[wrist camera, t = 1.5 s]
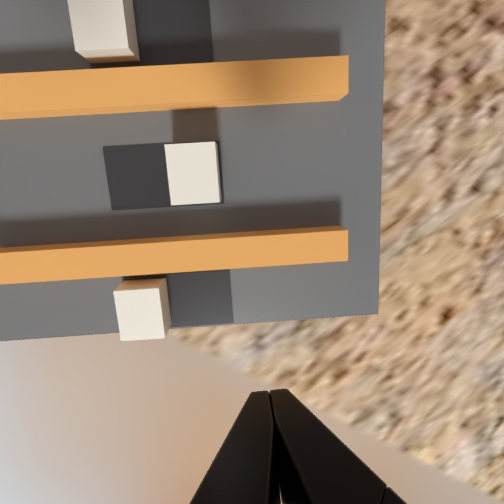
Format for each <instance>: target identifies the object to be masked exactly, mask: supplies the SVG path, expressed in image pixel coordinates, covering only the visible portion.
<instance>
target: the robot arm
mask: <svg viewBox="0 0 504 504" xmlns="http://www.w3.org/2000/svg"><path fill="white" fill-rule="evenodd" d="M280 494H281V499H280ZM281 500H282V504H407V503H406V502H405V501H403V500H402V499H401V498H400V497H399V496H398V495H397V494H396V493H395V492H394V491H393V490H392V489H391V488H390V487H387V485H386V484H385V483H384V482H383V481H382V480H381V479H380V478H379V477H378V476H377V475H376V474H375V473H374V472H373V471H372V470H371V469H370V468H369V467H368V466H367V465H366V464H365V463H364V462H363V461H362V460H361V459H359V458H358V457H357V456H356V455H355V454H354V453H353V452H352V451H351V450H350V449H349V448H348V447H347V446H346V445H345V444H344V443H343V442H341V440H340V439H339V438H338V437H337V436H336V435H335V434H334V433H332V432H331V431H330V430H329V429H328V428H327V427H326V426H325V425H324V424H323V423H322V422H321V421H320V420H319V419H318V418H317V417H316V416H315V415H313V413H312V412H311V411H310V410H309V409H307V408H306V407H305V406H304V405H303V404H302V403H301V402H300V401H299V400H298V399H297V398H296V397H295V396H294V395H293V394H292V393H291V392H290V391H289V390H288V389H276V390H271V391H270V392H268V391H257V392H252V393H251V394H250V395H249V397H248V399H247V401H246V402H245V404H244V406H243V408H242V410H241V411H240V413H239V415H238V417H237V419H236V420H235V422H234V424H233V426H232V428H231V430H230V431H229V433H228V435H227V437H226V439H225V440H224V442H223V444H222V446H221V448H220V450H219V451H218V453H217V455H216V457H215V459H214V460H213V462H212V464H211V466H210V468H209V470H208V471H207V473H206V475H205V477H204V478H203V481H202V482H201V484H200V486H199V488H198V489H197V491H196V493H195V495H194V497H193V498H192V500H191V502H190V504H281Z"/></svg>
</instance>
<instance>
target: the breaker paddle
mask: <svg viewBox="0 0 504 504" xmlns="http://www.w3.org/2000/svg"><path fill="white" fill-rule="evenodd" d="M164 147H165V155H166V164H167V173H168V182H169V191H170V200H171V205H186V204H202V203H218V202H220V201H221V200H222V198H221V185H220V172H219V160H218V147H217V144H216V142H198V143H181V144H164Z"/></svg>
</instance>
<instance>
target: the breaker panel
mask: <svg viewBox="0 0 504 504" xmlns="http://www.w3.org/2000/svg"><path fill="white" fill-rule="evenodd" d="M384 38H385V0H0V74H6V73H25V72H43V71H62V70H81V69H100V68H119V67H137V66H156V65H175V64H194V63H212V62H231V61H250V60H269V59H288V58H306V57H325V56H344V55H349V83H348V94H347V95H346V96H344V97H343V98H342V99H340V100H339V101H324V102H307V103H289V104H271V105H254V106H236V107H218V108H201V109H183V110H165V111H147V112H130V113H112V114H94V115H77V116H59V117H41V118H23V119H6V120H0V248H4V247H19V246H35V245H50V244H65V243H81V242H96V241H111V240H126V239H142V238H157V237H172V236H188V235H203V234H218V233H233V232H249V231H264V230H279V229H295V228H310V227H325V226H341V227H343V228H345V229H347V230H348V261H339V262H325V263H310V264H295V265H281V266H266V267H251V268H236V269H222V270H207V271H192V272H178V273H163V274H148V275H133V276H119V277H104V278H89V279H75V280H60V281H45V282H30V283H16V284H1V285H0V341H10V340H23V339H37V338H50V337H64V336H79V335H93V334H107V333H120V338H121V341H130V340H145V339H159V338H165V337H166V335H167V333H168V330H169V329H177V328H190V327H204V326H218V325H232V324H246V323H260V322H274V321H288V320H302V319H316V318H329V317H343V316H357V315H371V314H378V298H379V255H380V211H381V168H382V124H383V81H384ZM198 142H216V144H217V147H218V160H219V172H220V185H221V198H222V200H221V201H220V202H218V203H202V204H186V205H171V200H170V191H169V182H168V173H167V164H166V155H165V147H164V144H181V143H198Z"/></svg>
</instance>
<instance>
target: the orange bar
mask: <svg viewBox="0 0 504 504" xmlns="http://www.w3.org/2000/svg"><path fill="white" fill-rule="evenodd" d="M348 83H349V55H344V56H325V57H306V58H288V59H269V60H250V61H231V62H212V63H194V64H175V65H156V66H137V67H119V68H100V69H81V70H62V71H43V72H25V73H6V74H0V120H6V119H23V118H41V117H59V116H77V115H94V114H112V113H130V112H147V111H165V110H183V109H201V108H218V107H236V106H254V105H271V104H289V103H307V102H324V101H339V100H340V99H342V98H343V97H344V96H346V95H347V94H348Z"/></svg>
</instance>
